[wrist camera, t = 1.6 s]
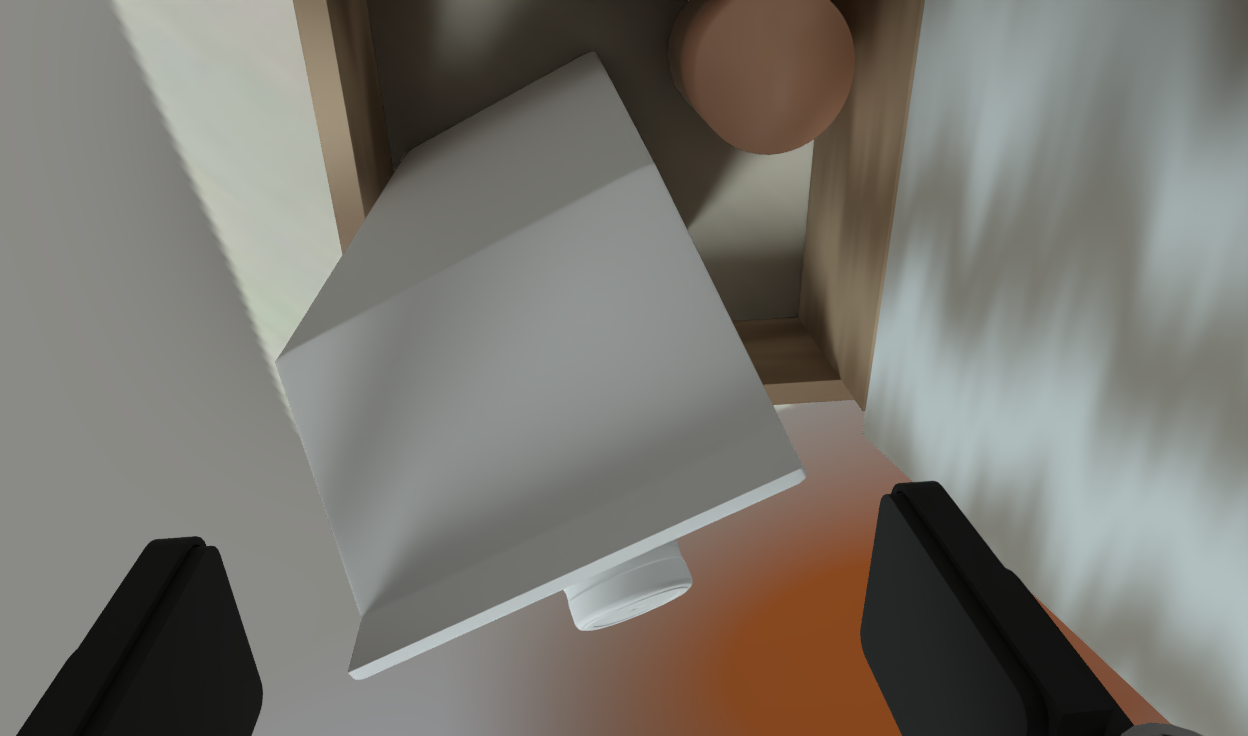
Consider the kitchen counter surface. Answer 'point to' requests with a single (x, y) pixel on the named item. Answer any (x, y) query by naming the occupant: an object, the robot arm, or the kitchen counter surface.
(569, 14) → the kitchen counter surface
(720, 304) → the milk carton
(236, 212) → the kitchen counter surface
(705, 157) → the kitchen counter surface
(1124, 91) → the box
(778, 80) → the tan rounded ovoid
